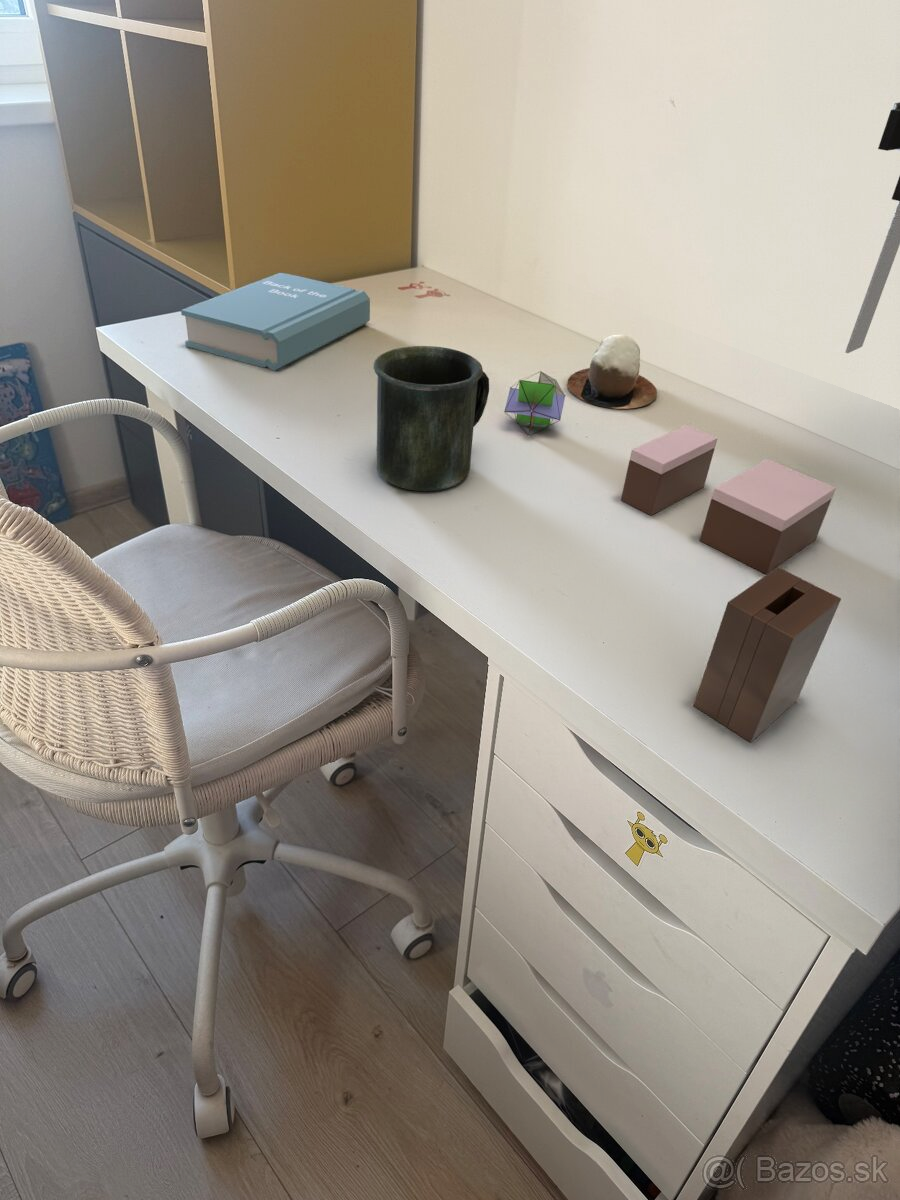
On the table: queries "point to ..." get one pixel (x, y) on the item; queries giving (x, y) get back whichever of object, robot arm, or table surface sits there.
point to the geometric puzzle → (536, 401)
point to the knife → (877, 279)
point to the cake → (766, 515)
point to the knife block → (764, 652)
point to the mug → (427, 415)
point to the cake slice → (668, 469)
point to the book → (275, 319)
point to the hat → (614, 376)
